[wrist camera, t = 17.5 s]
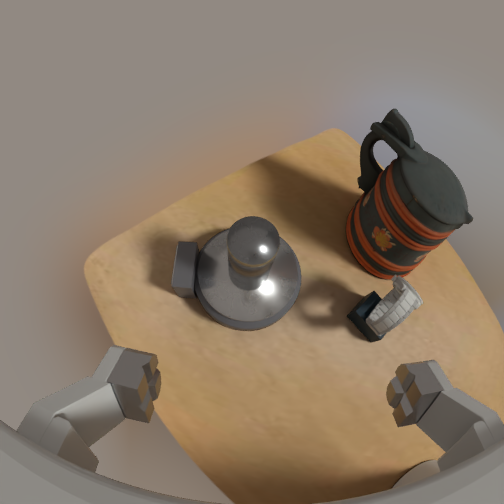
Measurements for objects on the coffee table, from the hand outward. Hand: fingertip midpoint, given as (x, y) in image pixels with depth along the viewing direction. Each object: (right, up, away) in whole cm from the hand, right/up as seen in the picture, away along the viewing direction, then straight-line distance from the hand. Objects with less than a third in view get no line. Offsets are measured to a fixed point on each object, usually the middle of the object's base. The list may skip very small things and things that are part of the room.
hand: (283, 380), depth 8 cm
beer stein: (+20, +8, +35) cm, 41 cm away
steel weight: (-1, +2, +26) cm, 26 cm away
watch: (+16, -6, +29) cm, 34 cm away
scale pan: (-2, +1, +27) cm, 27 cm away
